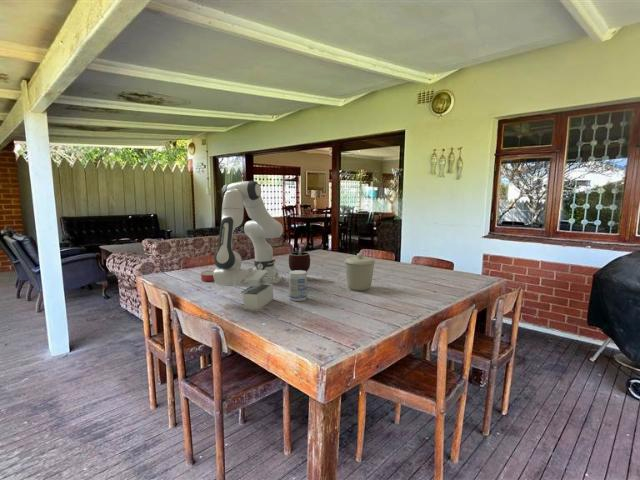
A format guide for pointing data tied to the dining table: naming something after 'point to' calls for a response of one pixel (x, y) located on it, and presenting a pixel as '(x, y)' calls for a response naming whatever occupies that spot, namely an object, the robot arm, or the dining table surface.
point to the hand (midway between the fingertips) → (272, 278)
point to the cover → (251, 288)
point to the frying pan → (207, 276)
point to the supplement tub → (297, 285)
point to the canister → (359, 272)
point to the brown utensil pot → (299, 261)
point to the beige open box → (258, 297)
